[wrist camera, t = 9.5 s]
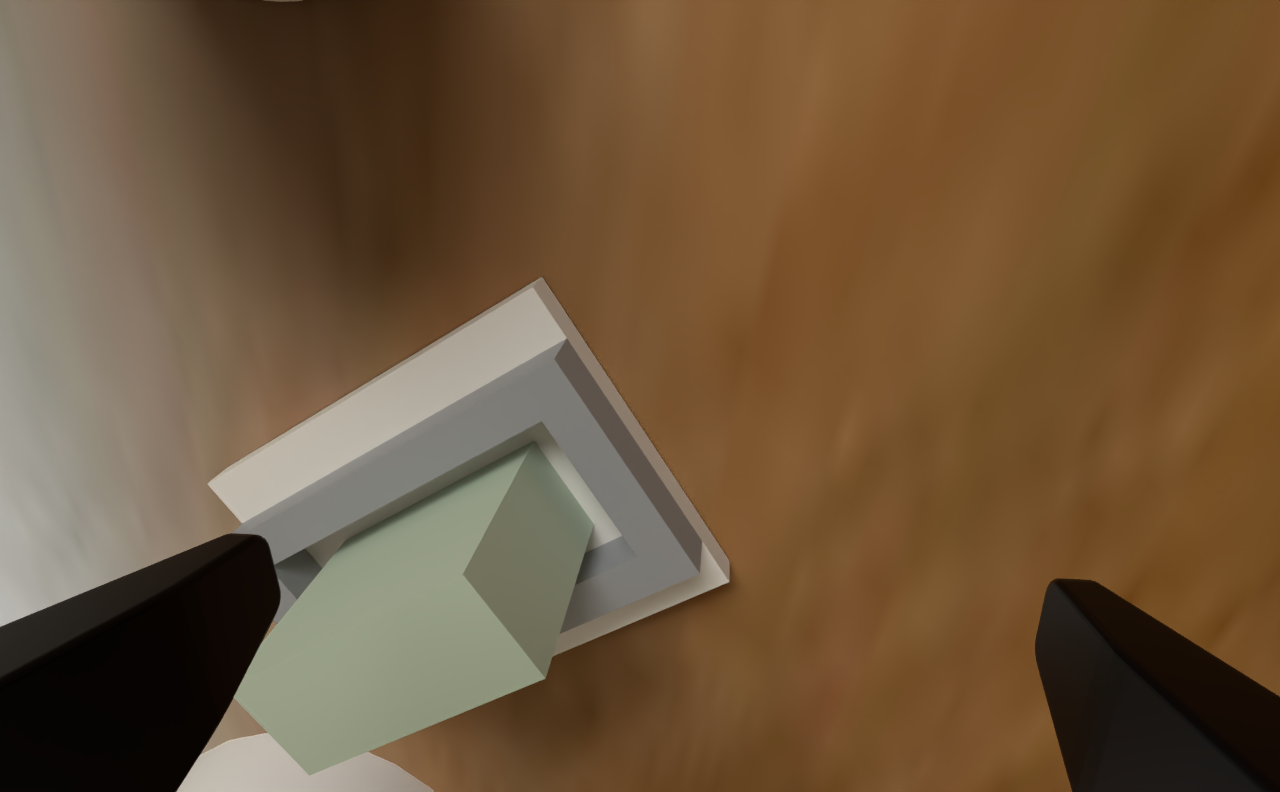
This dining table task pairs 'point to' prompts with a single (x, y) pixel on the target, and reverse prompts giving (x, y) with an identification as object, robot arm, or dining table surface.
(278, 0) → the teacup with lid
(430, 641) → the pale green block
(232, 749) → the honey pot
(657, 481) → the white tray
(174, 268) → the dining table surface
